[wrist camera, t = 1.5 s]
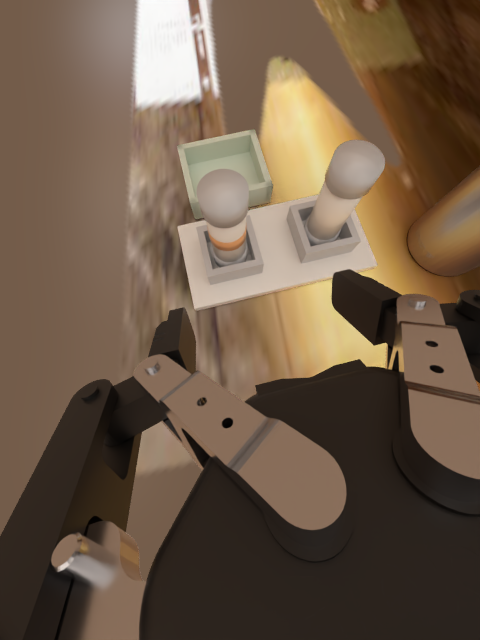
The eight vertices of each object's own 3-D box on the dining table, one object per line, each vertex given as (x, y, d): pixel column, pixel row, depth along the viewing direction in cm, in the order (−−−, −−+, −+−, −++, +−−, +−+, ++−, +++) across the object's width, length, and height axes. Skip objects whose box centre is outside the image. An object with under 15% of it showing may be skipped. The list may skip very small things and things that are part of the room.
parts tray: (253, 150, 35) (254, 129, 32) (270, 202, 33) (272, 185, 30) (182, 165, 34) (176, 145, 31) (195, 219, 32) (190, 203, 29)
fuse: (328, 217, 31) (373, 135, 20) (339, 245, 30) (393, 175, 19) (297, 224, 31) (326, 145, 20) (307, 253, 30) (343, 186, 19)
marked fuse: (242, 237, 30) (241, 164, 20) (250, 266, 29) (254, 206, 19) (210, 244, 30) (192, 175, 20) (217, 274, 29) (202, 218, 19)
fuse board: (343, 193, 33) (354, 173, 29) (373, 268, 30) (389, 255, 27) (179, 230, 32) (171, 213, 29) (196, 310, 29) (189, 303, 26)
